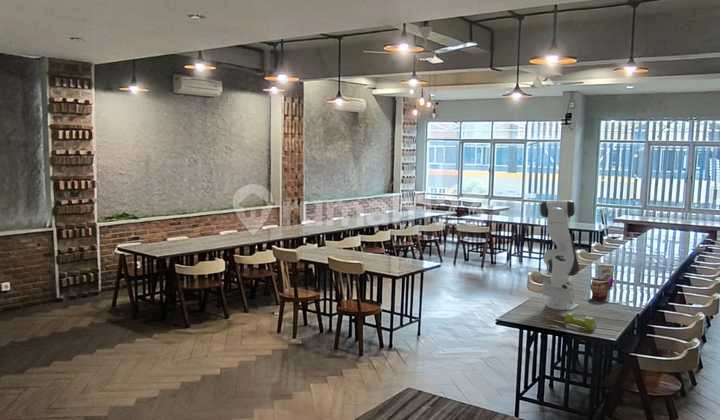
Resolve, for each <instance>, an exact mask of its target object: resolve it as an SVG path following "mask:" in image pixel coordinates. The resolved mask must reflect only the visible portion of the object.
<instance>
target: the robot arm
mask: <svg viewBox="0 0 720 420" xmlns="http://www.w3.org/2000/svg"><path fill="white" fill-rule="evenodd" d="M539 205H540V206H539V213H540V216H541V217H543V218H545V219H547V220H546V227H547V228H546V229H547V234H548V235H549V237H550V239H551V241H552V242H553V243H555V246H556V248H553V249H550V250H547V251H545V252H544V253H543V257H542V259H543V262H544V264H545V265H546V270H547V272H548V273H549V274H550V280H549V279H544V280H543V282H542V288H541V294H542V295H544V296H547V301H546V302H545V306H547V308H550V309H553V310H558V311H559V310H561V311H564V310H565V311H573V310H575V309H576V308H578V307H579V306H580V304H578V303H577V302H576V301H575V300H576V296H575V295H576V294H575V293H576V292H575V284H573V283H572V282H570V280H569V278H570V277H574V276H575V275H577V274H578V273H579V272H580V265H579V264H580V263H579V261H578V259H579V253H578V251H577V250H576V247H575V243H574V239H573V236H572V234H571V233H570V232H569V220H568V219H570V218H572V217H573V216H574V215H575V213H576V211H577V206H576V203H575V202H574V200H571V199H567V200H564V199H557V200H556V199H555V200H549V201H547V200H546V201H542V202H541V203H540V204H539ZM569 276H570V277H569Z"/></svg>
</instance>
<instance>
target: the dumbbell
mask: <svg viewBox="0 0 720 420" xmlns="http://www.w3.org/2000/svg"><path fill="white" fill-rule="evenodd" d="M564 316H565V321H564V322H565V323H569V324H573V325H580V326H584V325H585V330H587V331H590V332H591V331H594V329H595V328H594V327H595V323H596V319H595V318H594V317H589V318H587V320H583V319H581V318H575V315H574V313H571V312H568V313H566V314H565V315H564Z"/></svg>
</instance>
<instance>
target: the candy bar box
mask: <svg viewBox="0 0 720 420" xmlns="http://www.w3.org/2000/svg"><path fill="white" fill-rule="evenodd" d="M614 269H615V265H614V264H608V263H607V264H606V263H598V265H597V276H596V279H604V280H607V281H608V284H609V287H614V272H615V270H614Z"/></svg>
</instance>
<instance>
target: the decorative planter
mask: <svg viewBox="0 0 720 420" xmlns="http://www.w3.org/2000/svg"><path fill="white" fill-rule="evenodd" d="M590 291H591V293H592V295H591V299H592V300H593V301H601V302H604V301H607V299H608V294H609V291H610V286H609V284H608V281H607V280H604V279H597V278H592V280H591V283H590Z"/></svg>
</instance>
